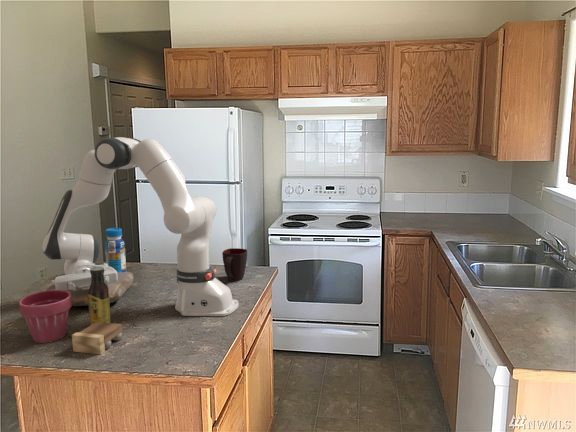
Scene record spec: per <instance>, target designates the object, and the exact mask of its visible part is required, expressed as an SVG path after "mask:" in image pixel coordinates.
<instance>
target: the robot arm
mask: <svg viewBox="0 0 576 432" xmlns="http://www.w3.org/2000/svg"><path fill="white" fill-rule="evenodd" d="M135 168H139V170H140V171H141V173H142V174H143V175H144V177H145V178H146V180H147V181H148V182H149V184H150V185H151V187H152V188H153V190H154V192H155V193H156V195H157V197H158V199H159V201H160V202H161V207H162V209H163V223H164V226H165V228H166V229H167V230H168V231H169V232H171V233H173V234H176V235H180V238H179V242H178V244H177V247H176V259H177V269H176V282H177V296H176V302H175V307H174V308H175V310H176V311H177V312H178V313H180V315H181V316H183V317H184V316H185V317H186V316H187V317H225V316H228V315H231V314H232V313H234V312H235V311H236V310H237V309H238V308H239V306H240V305H239V301H238V300H237V299H233V295H232V292H231V289H230V287H228V286H227V285H226V284H224V283H223V282H222V281H220V280H219V279H218V278H216V277H215V276H216V272H217V268H215V269H212V267H211V266H210V241H211V234H212V228H213V222H214V219H215V216H216V214H217V207H216V204H215V202H214V201H213V200H212V199H211V198H209V197H207V196H203V195H198V196H191V195H190V192H189V191H188V188H187V185H186V182H187V181H186V177H185V175H184V173H183V172H182V170H181V169H180V168H179V166H178V165H177V164H176V162H175V161H174V159H173V158H172V156H171V155H170V154H169V153H168V152H167V150H166V149H165V147H163V146H162V145H161V144H160V143H159V142H158V141H157V140H155V139H153V138H146V139H145V138H144V139H142V140H140V139H137V138H133V137H130V138H129V137H122V136H118V137H107V138H104V139H102V140H100V141H98V143H97V144H96V146H95V148H94V149H93V150H92V149H91V150H89V151H88V152H86V154H85V157H84V159H83V161H82V165H81V168H80V171H79V176H78V179H77V182H76V184H75V185H74V186H73V187H72V188H71V189H68V190H67V191H66V192H65V193H64V195H63V197H62V199H61V201H60V203H59V205H58V207H57V211H55V216H54V217H53V220H52V223H51V224H50V228H49V229H48V231H47V233H46V235H45V237H44V239H43V242H42V253H43V254H44V255H45V256H46V257H47V258H48V259H50V260H65V262H64V264H63V270H64V273H65V274H64V275H59V276H56V277H55V279H52V280H51V284H55V287H56V290H65V291H66V290H74V291H75V290H79V288H88V287H90V285H91V273H90V269H91V268H93V267H103V268H104V282H105V284H106V285H108V283H111V282H116V281H118V274H117V271H116V270H115V269H114V268H112V267H110V266H108V264H107V263H106V262H99V263H97V260H98V259H99V253H100V245H99V242H98V240H97V239H96V237H95V236H94V234H89V233H88V234H86V233H72V232H64V230H65V229H66V225H67V223H68V221H69V219H70V216H71V215H72V213H73V212H75V211H76V210H78V209H81V208H86V207H90V206H91V207H92V206H95V205H98V204H100V203H102V202H104V200H106V199H107V198H108V196H109V194H110V191H111V187H112V181H113V176H114V174H115V172H116V171H117V170H130V169H135Z"/></svg>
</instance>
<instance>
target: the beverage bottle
mask: <svg viewBox="0 0 576 432" xmlns="http://www.w3.org/2000/svg"><path fill="white" fill-rule="evenodd" d="M105 237H106V238H107V239H106V240H105V242H104V247H105V249H104V253H105V263H107V264H108V266H110V267H112V268H114V269H115V270H116V271H117V272H127V263H126V262H127V261H126V248H125V244H126V243H125V241H124V239H123V238H122V237H123V230H122V228H120V227H110V228H106V229H105Z"/></svg>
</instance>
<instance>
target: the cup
mask: <svg viewBox="0 0 576 432" xmlns="http://www.w3.org/2000/svg"><path fill="white" fill-rule="evenodd" d="M221 254H222V262H223V267H224V273H225V275H226V278H227V280H228V281H233V282H234V281H235V282H239V281H241V280H243V279H244V276H245V271H246V268H247V267H246V266H247V261H248V249H247V248H246V249H245V248H238V247H237V248H236V247H234V248H226V249H224V250H223V251H222V253H221Z"/></svg>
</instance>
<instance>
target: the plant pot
mask: <svg viewBox="0 0 576 432" xmlns="http://www.w3.org/2000/svg"><path fill="white" fill-rule="evenodd" d="M18 306H19V312H20V313H19V314H20V315H21V316H22V317H24V320H25V322H26V324H27V328H28V330H29V332H30V334H31V337H32V339H33V341H34V343H35V342H36V343H38V344H39V343H40V344H42V343H51V342H56V341H58V340H60V339H62V338H64V337H65V336H66V334H67V326H68V321H69V312H70V309H71V307H73V306H72V298H71V293H70V292H68V291H65V290H48V291H46V290H42V291H37V292H34V293H30V294H27V295H26V296H23V297H22V298H20V300H19V302H18Z"/></svg>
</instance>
